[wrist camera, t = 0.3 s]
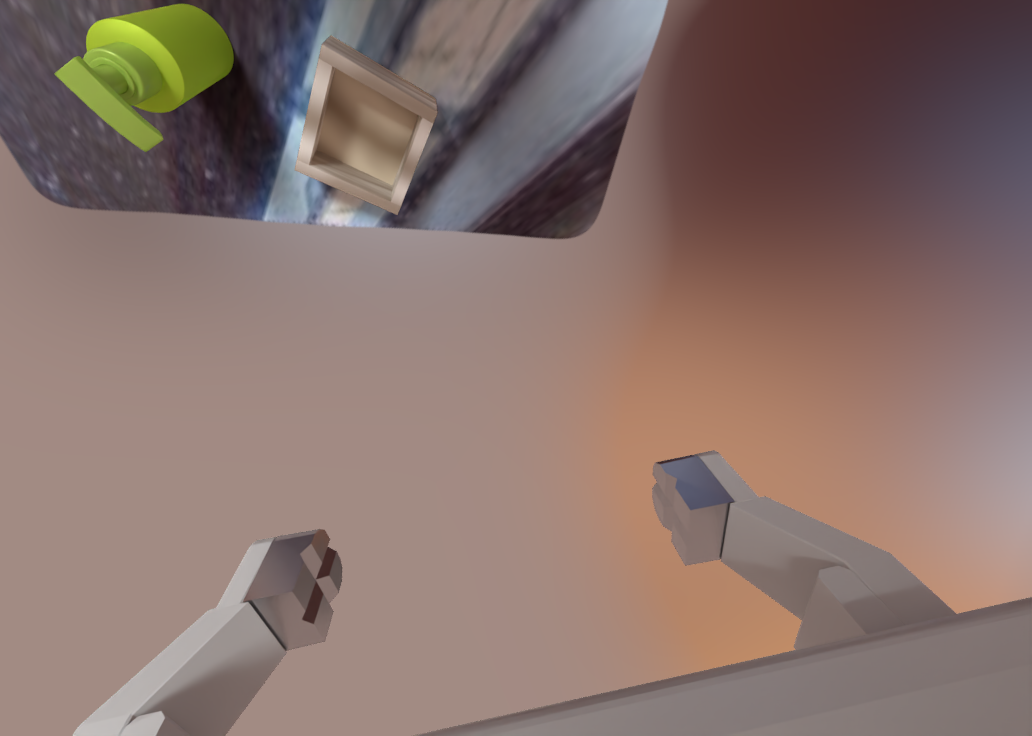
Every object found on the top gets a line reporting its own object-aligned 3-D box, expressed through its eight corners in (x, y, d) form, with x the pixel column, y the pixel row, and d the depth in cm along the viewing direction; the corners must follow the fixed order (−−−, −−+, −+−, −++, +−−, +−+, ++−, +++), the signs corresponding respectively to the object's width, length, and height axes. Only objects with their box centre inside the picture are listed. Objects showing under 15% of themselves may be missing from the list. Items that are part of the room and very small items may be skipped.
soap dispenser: (214, 101, 43) (122, 168, 30) (146, 25, 38) (-1, 64, 25) (256, 71, 42) (181, 126, 28) (191, -11, 37) (63, 9, 24)
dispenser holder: (331, 35, 41) (321, 44, 37) (435, 98, 47) (437, 112, 42) (304, 151, 48) (294, 170, 44) (398, 194, 54) (397, 215, 49)
